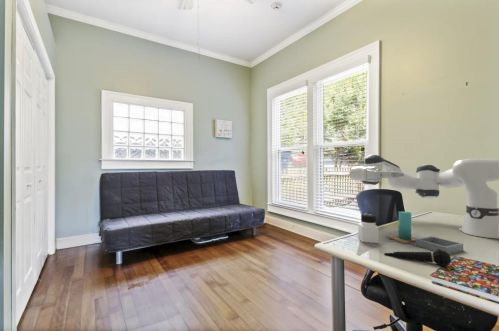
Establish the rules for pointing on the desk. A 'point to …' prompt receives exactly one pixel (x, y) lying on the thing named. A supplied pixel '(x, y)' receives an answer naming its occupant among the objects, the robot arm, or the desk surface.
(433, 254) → the microphone
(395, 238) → the mat
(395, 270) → the desk surface
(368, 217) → the medicine bottle
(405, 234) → the canister
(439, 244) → the caddy
